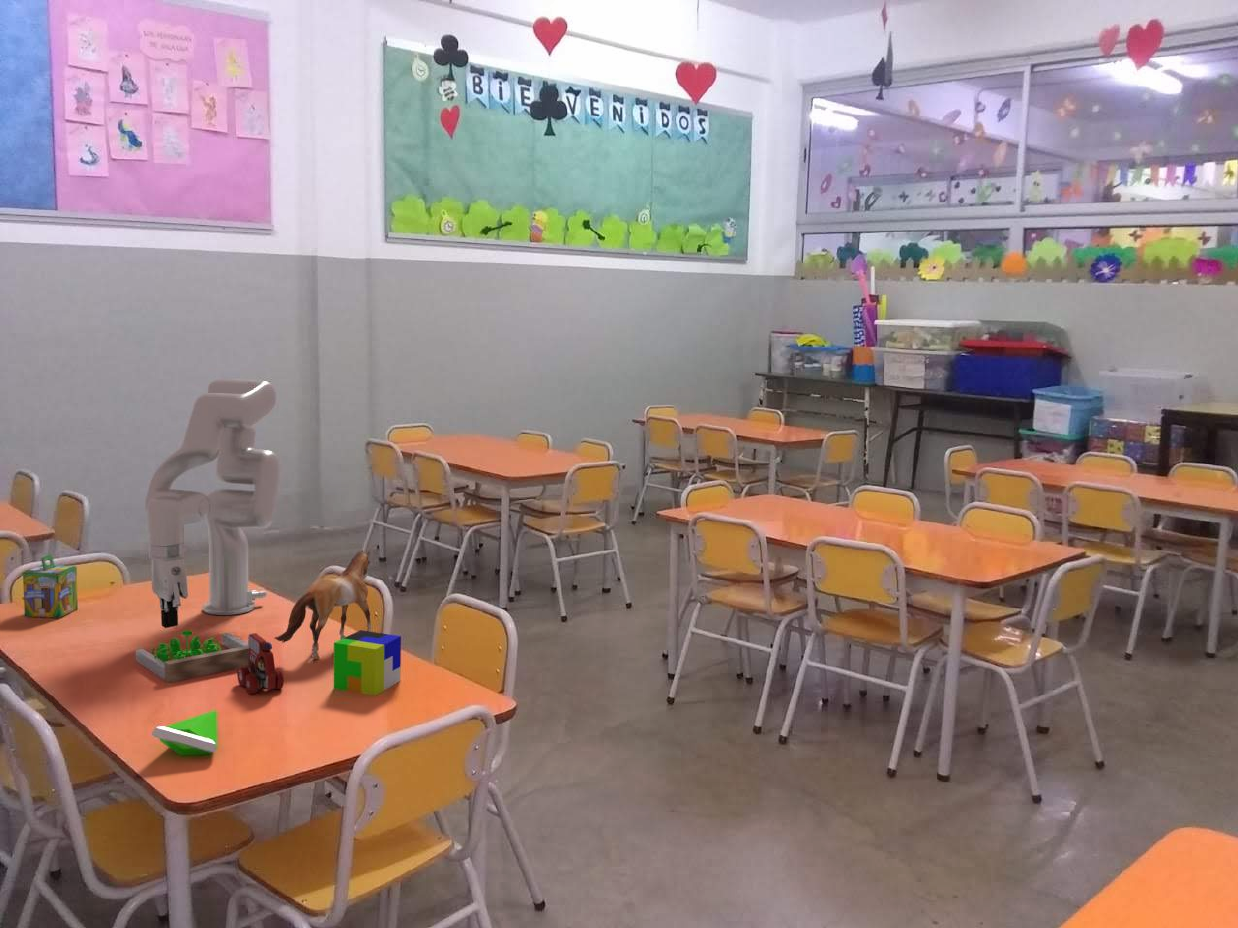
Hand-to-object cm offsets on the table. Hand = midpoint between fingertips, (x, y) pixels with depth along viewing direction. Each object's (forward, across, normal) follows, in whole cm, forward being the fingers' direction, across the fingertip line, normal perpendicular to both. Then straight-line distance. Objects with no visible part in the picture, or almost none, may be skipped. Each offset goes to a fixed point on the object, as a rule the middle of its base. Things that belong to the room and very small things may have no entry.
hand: (169, 625), depth 246 cm
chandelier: (+4, -17, +3) cm, 17 cm away
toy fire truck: (+3, -42, -2) cm, 42 cm away
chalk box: (+4, +39, +14) cm, 42 cm away
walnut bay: (+3, -19, +1) cm, 19 cm away
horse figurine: (+4, -25, -26) cm, 36 cm away
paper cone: (+2, -58, +20) cm, 62 cm away
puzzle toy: (+3, -54, -20) cm, 57 cm away
